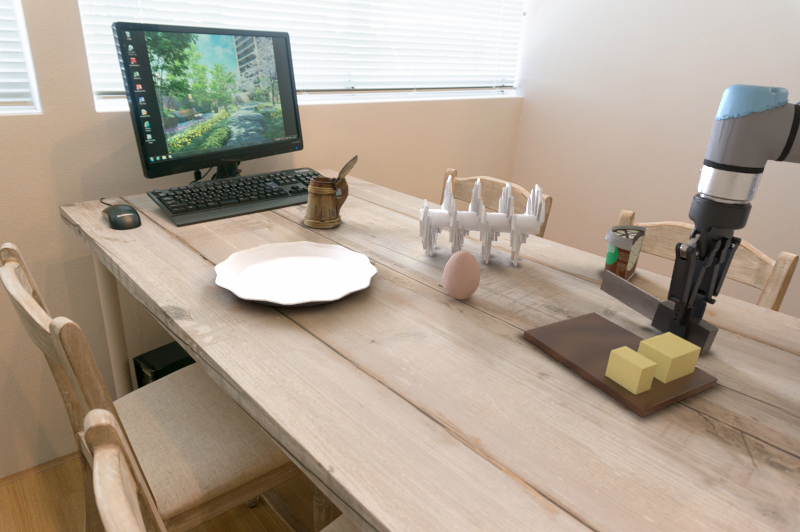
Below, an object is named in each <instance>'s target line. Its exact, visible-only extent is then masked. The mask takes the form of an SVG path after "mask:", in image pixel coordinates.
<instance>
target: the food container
mask: <svg viewBox="0 0 800 532" xmlns="http://www.w3.org/2000/svg"><path fill="white" fill-rule="evenodd" d="M646 232H647V227H645V226H642V225H641V226H640V225H634V224H633V225H631V224H618V225H613V226H611V227H610V229H609V230H608V231H607V233H606V236H605V241H606V242H607V248H606V256H605V262H604V263H605V264H604V271H603V275H604V274H605V271H606V270H609V271H610V272H612V273H614V274H616V275H617V276H619V277H621V278H623V279H624V280H626V281H628V282H629V281H630V279H631V278H632V277H633V276H634V274H636V269H637V266H638V261H639V258H640V253H641V250H642V246H643V242H644V238H645V236H646Z"/></svg>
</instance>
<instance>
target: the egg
mask: <svg viewBox="0 0 800 532" xmlns="http://www.w3.org/2000/svg"><path fill="white" fill-rule="evenodd" d="M442 273H443V275H442V282H443V286H444V289H445V291H446V292H447V293H448V295H450V297H452V298H454V299H456V300H466V299H468V298H470V297H471V296H473V295H474V294H475V293H476V291H477V290H478V288H479V286H480V282H481V269H480V265H479V262H478V260H477V258H476V257H475V255H474V254H472V253H471V252H469V251H467V250H461V251H459V252H457V253H453V254H452V255H451V257H449V258H448V261H447V262H446V264H445V266H444V270H443V272H442Z"/></svg>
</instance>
